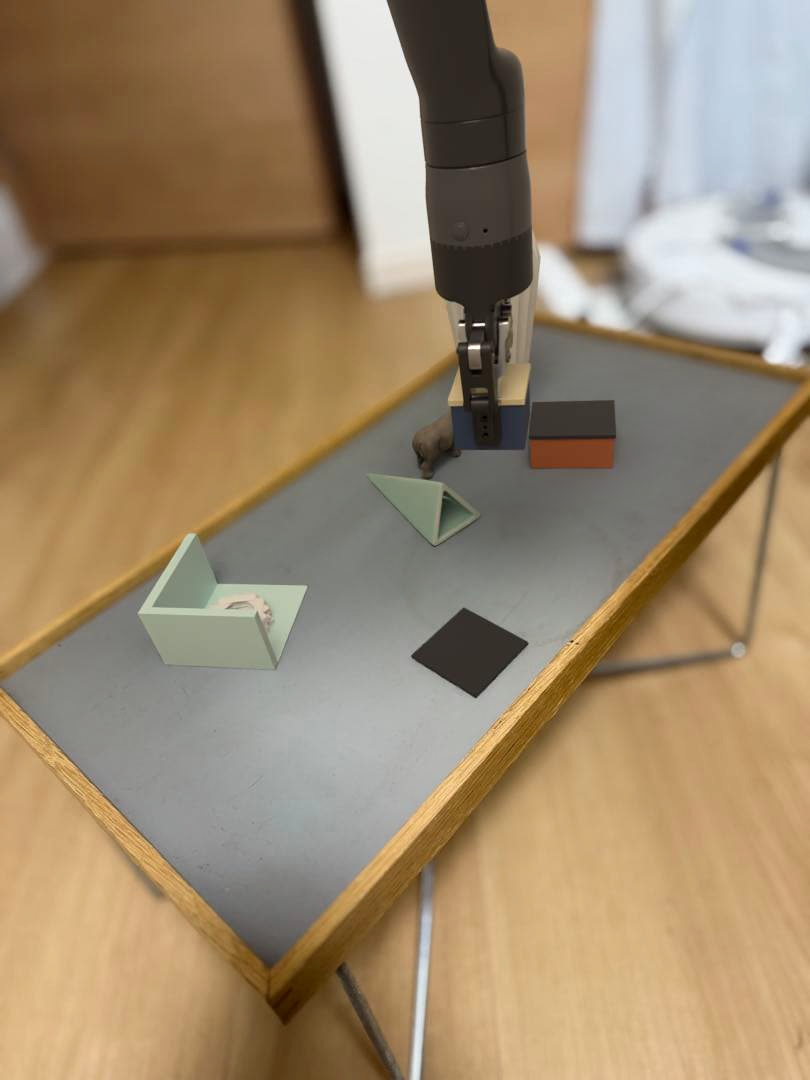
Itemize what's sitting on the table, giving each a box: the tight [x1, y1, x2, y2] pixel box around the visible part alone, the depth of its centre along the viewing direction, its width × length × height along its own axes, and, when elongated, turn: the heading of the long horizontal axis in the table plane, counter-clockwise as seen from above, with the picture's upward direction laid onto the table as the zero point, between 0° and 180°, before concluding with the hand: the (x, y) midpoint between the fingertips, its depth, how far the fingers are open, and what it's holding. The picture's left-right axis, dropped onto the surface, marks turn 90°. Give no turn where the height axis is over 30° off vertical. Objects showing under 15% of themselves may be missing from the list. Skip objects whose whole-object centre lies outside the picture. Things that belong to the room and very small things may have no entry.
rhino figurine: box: [411, 408, 462, 479], centre depth 93 cm, size 4×14×6 cm, turn 141°
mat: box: [410, 606, 529, 699], centre depth 67 cm, size 8×8×1 cm
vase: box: [443, 228, 542, 364], centre depth 95 cm, size 13×13×26 cm
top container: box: [447, 362, 532, 451], centre depth 61 cm, size 6×6×5 cm
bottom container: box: [527, 399, 617, 469], centre depth 90 cm, size 10×8×5 cm
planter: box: [366, 473, 481, 547], centre depth 86 cm, size 8×6×18 cm
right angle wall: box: [137, 532, 309, 671], centre depth 73 cm, size 12×12×8 cm
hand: (493, 422), depth 62 cm, fingers closed on top container, 6 cm apart
